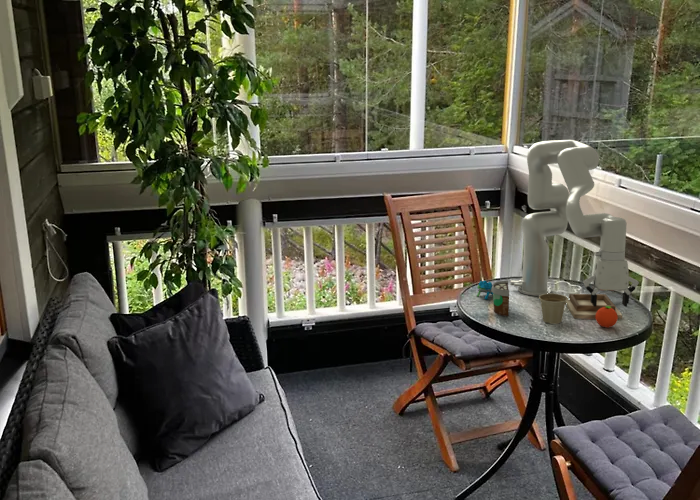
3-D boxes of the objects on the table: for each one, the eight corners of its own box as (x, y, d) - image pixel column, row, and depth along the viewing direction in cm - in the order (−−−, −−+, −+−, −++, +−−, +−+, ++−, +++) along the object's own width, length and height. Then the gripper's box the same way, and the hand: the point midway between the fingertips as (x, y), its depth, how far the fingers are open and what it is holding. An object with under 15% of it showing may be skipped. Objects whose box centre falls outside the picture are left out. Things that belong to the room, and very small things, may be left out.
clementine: (599, 320, 214) (601, 301, 213) (620, 324, 210) (622, 305, 208) (591, 327, 209) (593, 307, 207) (613, 332, 204) (614, 311, 202)
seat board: (574, 318, 217) (574, 308, 216) (562, 299, 236) (563, 290, 236) (622, 319, 215) (622, 309, 214) (606, 300, 234) (607, 291, 233)
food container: (490, 305, 233) (491, 279, 230) (507, 306, 232) (508, 280, 229) (490, 317, 221) (491, 290, 219) (508, 317, 220) (509, 290, 217)
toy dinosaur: (508, 294, 239) (494, 280, 234) (502, 307, 238) (488, 293, 233) (487, 291, 248) (473, 277, 243) (480, 304, 247) (466, 290, 242)
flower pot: (532, 319, 218) (533, 295, 216) (553, 314, 221) (554, 291, 219) (550, 328, 210) (551, 303, 207) (572, 323, 213) (573, 299, 211)
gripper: (587, 258, 201) (584, 308, 204) (643, 257, 198) (640, 309, 202) (581, 252, 208) (579, 301, 212) (636, 252, 205) (633, 302, 209)
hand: (609, 305), depth 207 cm, fingers open, 9 cm apart
